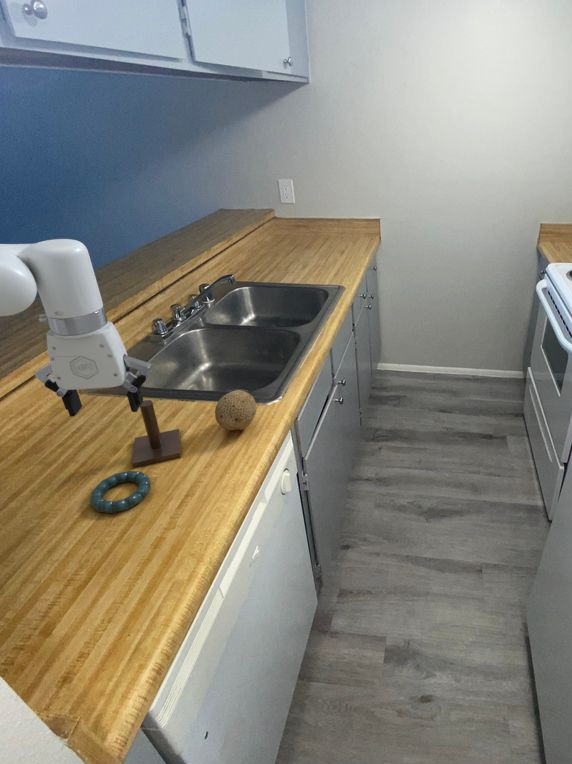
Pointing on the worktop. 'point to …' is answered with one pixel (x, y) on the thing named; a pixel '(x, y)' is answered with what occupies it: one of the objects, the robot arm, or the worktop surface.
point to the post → (154, 440)
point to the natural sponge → (235, 410)
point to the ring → (125, 503)
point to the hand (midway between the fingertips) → (107, 409)
